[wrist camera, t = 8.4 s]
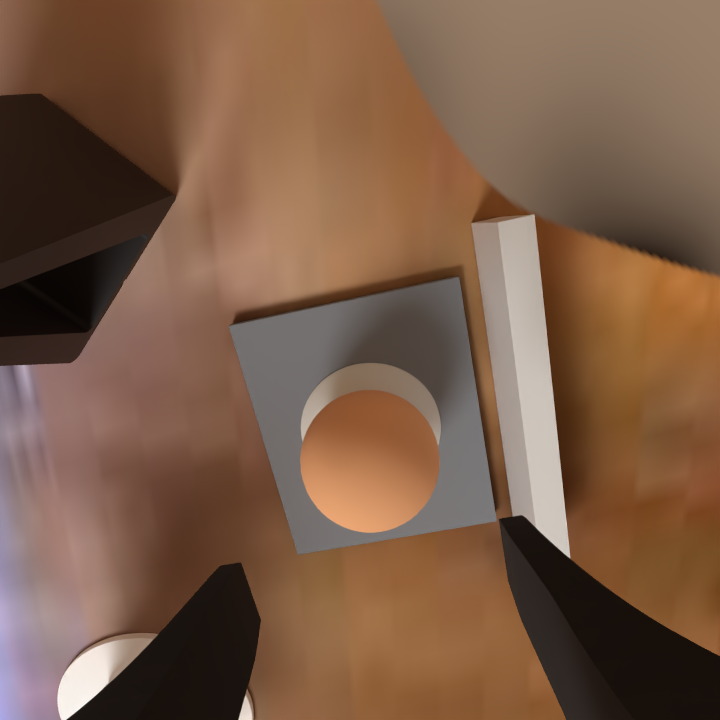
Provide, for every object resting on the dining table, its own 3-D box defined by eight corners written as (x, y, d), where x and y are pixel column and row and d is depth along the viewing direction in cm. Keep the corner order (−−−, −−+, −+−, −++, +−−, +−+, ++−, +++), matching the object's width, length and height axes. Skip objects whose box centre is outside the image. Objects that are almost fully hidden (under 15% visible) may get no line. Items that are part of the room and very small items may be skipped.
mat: (457, 275, 19) (459, 277, 19) (493, 514, 23) (497, 522, 22) (231, 323, 20) (227, 326, 20) (299, 548, 23) (297, 556, 23)
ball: (419, 361, 20) (435, 410, 14) (440, 471, 21) (460, 553, 16) (297, 384, 20) (269, 440, 15) (326, 491, 22) (309, 575, 17)
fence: (500, 216, 19) (534, 214, 15) (540, 541, 23) (575, 604, 19) (471, 223, 19) (497, 222, 15) (517, 545, 23) (546, 608, 19)
